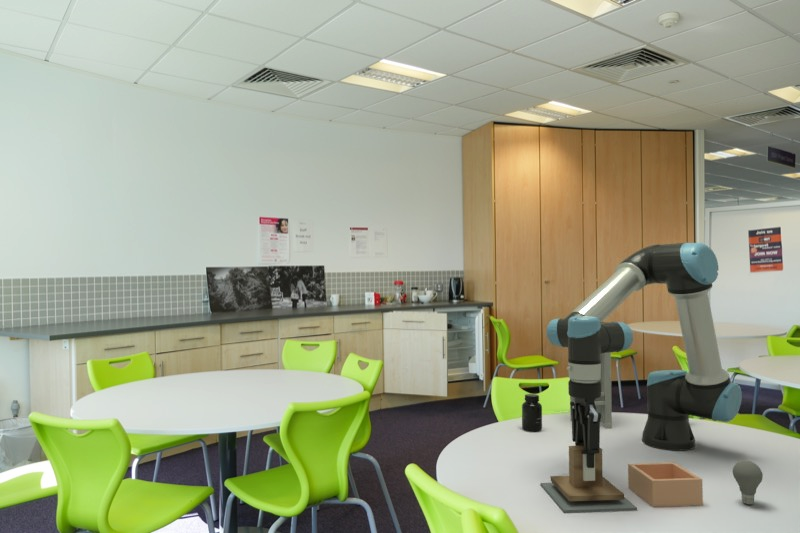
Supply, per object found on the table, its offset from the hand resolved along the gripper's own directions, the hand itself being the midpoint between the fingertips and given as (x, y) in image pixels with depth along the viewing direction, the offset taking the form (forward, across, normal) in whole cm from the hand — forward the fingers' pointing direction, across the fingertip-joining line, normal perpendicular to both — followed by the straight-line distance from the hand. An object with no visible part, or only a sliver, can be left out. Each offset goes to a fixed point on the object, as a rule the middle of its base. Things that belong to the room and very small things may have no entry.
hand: (585, 477), depth 136 cm
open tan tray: (+5, +1, +19) cm, 20 cm away
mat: (+5, 0, 0) cm, 5 cm away
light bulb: (+5, +7, +36) cm, 37 cm away
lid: (+3, 0, 0) cm, 3 cm away
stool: (+5, -65, +28) cm, 71 cm away
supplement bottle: (+5, -60, +5) cm, 60 cm away
